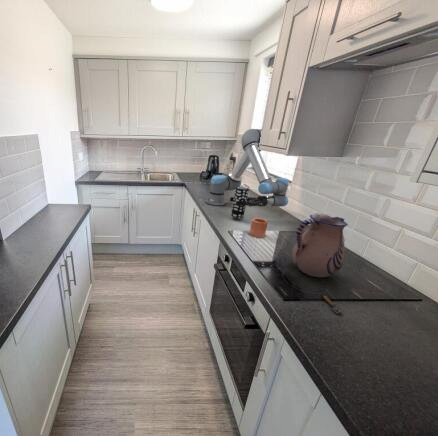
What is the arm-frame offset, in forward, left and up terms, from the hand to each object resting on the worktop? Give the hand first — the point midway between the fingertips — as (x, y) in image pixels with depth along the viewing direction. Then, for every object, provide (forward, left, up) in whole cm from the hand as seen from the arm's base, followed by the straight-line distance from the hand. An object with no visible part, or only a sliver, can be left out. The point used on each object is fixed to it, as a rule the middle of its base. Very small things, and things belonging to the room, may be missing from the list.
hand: (233, 201), depth 155 cm
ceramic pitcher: (+47, +45, -13) cm, 66 cm away
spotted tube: (-3, +4, -11) cm, 12 cm away
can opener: (+68, +51, -13) cm, 86 cm away
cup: (+17, +20, -13) cm, 29 cm away
